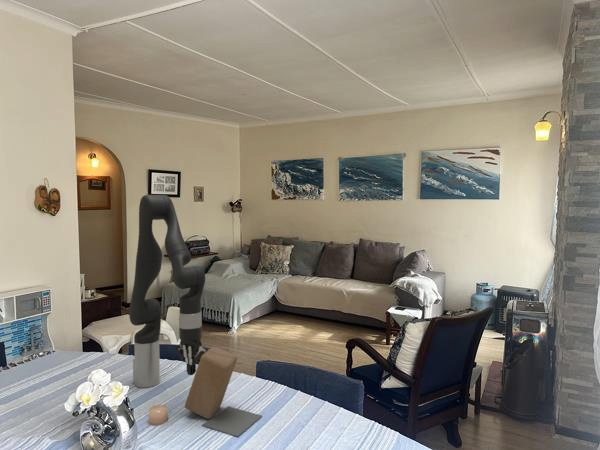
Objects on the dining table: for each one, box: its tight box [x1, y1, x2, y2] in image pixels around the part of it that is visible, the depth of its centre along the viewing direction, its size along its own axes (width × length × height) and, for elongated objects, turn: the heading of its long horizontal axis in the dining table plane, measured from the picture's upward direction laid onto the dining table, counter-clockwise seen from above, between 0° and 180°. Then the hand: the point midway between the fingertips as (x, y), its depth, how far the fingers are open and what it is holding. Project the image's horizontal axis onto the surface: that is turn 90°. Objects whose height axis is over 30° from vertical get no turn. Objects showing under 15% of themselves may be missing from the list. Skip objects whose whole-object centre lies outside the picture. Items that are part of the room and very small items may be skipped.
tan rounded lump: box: [148, 404, 169, 426], centre depth 140 cm, size 6×6×4 cm
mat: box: [201, 405, 263, 438], centre depth 140 cm, size 14×14×1 cm
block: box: [184, 346, 238, 420], centre depth 145 cm, size 10×10×20 cm
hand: (191, 374), depth 147 cm, fingers closed
